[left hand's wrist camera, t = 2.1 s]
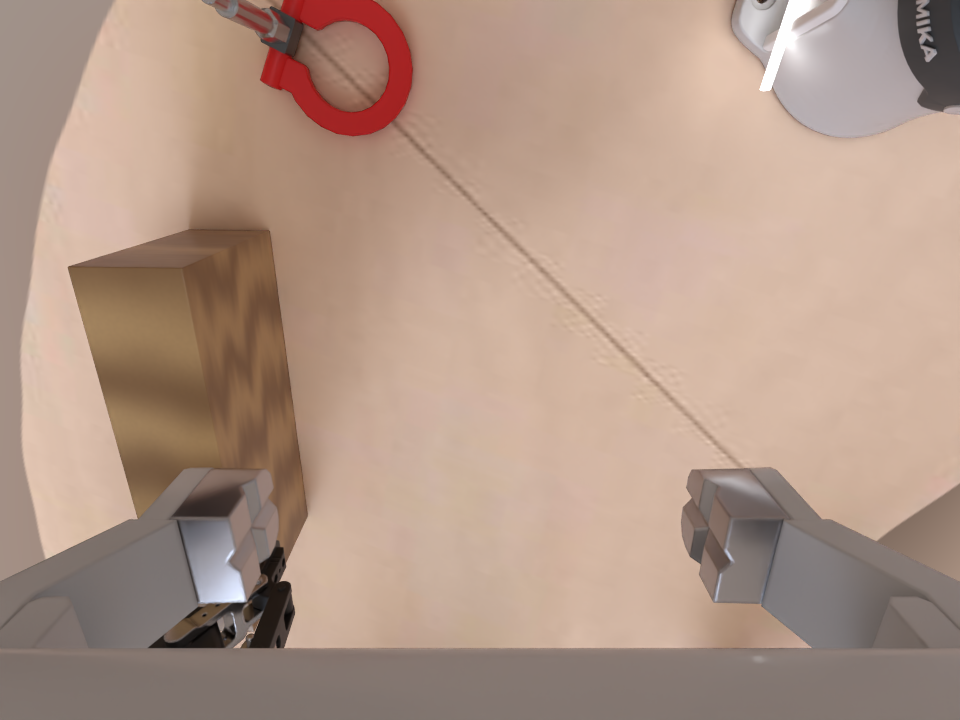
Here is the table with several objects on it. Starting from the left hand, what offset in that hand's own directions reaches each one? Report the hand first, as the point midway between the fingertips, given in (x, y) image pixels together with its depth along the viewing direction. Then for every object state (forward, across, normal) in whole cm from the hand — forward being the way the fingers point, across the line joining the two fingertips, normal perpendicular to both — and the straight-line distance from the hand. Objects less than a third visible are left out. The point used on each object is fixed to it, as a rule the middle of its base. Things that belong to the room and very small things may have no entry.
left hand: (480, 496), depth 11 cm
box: (+33, +19, +13) cm, 40 cm away
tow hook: (+33, +9, -11) cm, 36 cm away
